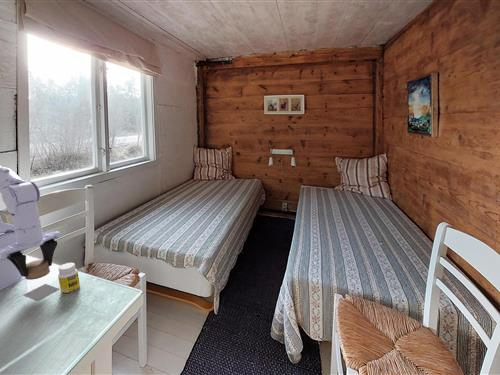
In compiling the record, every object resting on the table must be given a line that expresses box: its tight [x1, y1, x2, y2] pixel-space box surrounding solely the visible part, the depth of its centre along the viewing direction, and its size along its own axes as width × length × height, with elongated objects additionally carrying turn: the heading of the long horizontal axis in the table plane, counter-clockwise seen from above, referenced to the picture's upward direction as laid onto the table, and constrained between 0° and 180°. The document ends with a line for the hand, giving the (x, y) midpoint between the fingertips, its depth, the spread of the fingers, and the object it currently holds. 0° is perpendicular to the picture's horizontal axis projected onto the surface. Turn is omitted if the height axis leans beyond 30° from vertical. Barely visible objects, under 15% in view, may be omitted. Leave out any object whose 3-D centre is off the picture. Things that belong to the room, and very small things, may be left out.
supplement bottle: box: [57, 262, 81, 296], centre depth 78 cm, size 5×5×8 cm
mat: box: [23, 283, 60, 302], centre depth 78 cm, size 7×6×1 cm
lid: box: [25, 258, 51, 281], centre depth 76 cm, size 6×6×3 cm
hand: (36, 270), depth 76 cm, fingers closed on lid, 6 cm apart
